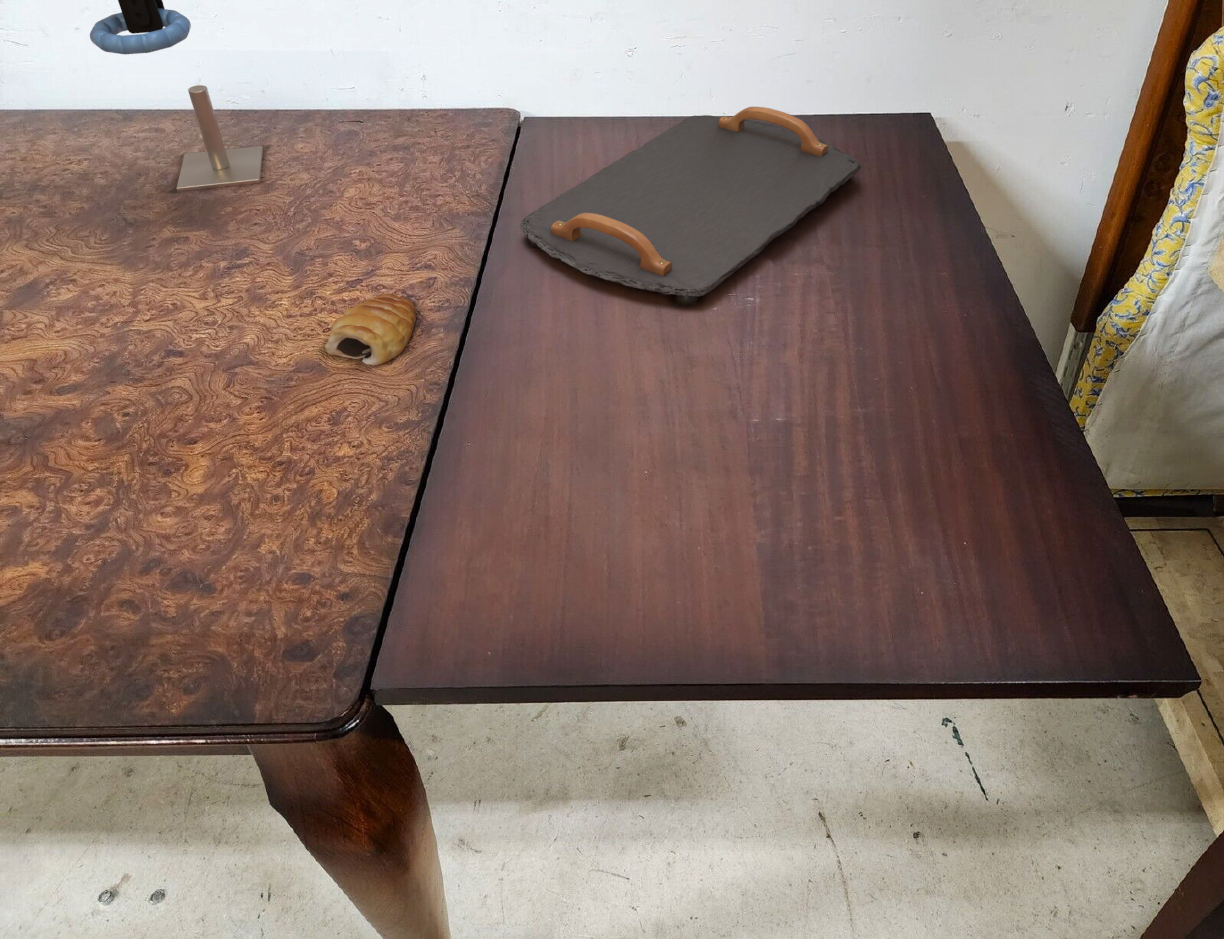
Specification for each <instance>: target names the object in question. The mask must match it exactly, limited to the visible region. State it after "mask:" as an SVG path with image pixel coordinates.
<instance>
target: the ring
mask: <svg viewBox="0 0 1224 939" xmlns="http://www.w3.org/2000/svg"><path fill="white" fill-rule="evenodd" d="M158 11H159V14H160V17H161V20H162V23H163V29H161V30H157V31H153V32H148V33H136V34H126V35H124V34H123V35H122V34H121V33H122V32H123V33H124V32H126V31H128V29H127V26H126V23H125V20H124V17H123V14H122V11H121V12H118V13H114V14H110V15H109V16H106V17H104V18H101V19H100V20H98V21H96V22H95V23H94V25H93V27H92V28H91V30H90V32H89V39H90V41H91V43H92V44H93V45H95V46H96V47H98V48H99V49H100V50H101V51H103V52H106V53H112V54H117V55H118V54H119V55H137V54H139V55H140V54H149V53H154V52H157V51H161V50H164V49H169V48H172V47H173V46H175V45H177V44H179V43H181V42H182V41H185V40H186V39H187V38H188V37H189V34H190V31H191V28H192V24H191V21H190V19H189V18H188V17H187V16H185V15H184V14H182V13H181V12H178V11H177V10H175V9H167V8H165V9H160V8H158ZM120 34H121V35H120Z"/></svg>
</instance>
